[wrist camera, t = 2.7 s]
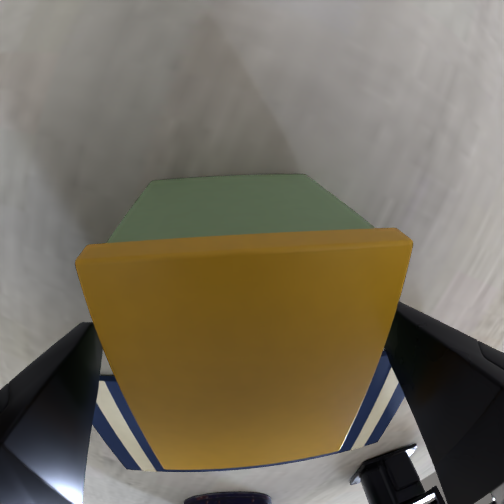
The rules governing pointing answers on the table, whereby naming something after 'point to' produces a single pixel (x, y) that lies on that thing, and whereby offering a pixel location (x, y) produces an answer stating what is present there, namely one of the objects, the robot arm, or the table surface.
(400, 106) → the table surface
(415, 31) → the table surface
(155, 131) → the table surface
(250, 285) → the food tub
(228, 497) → the storage jar
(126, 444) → the tea towel
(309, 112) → the table surface
